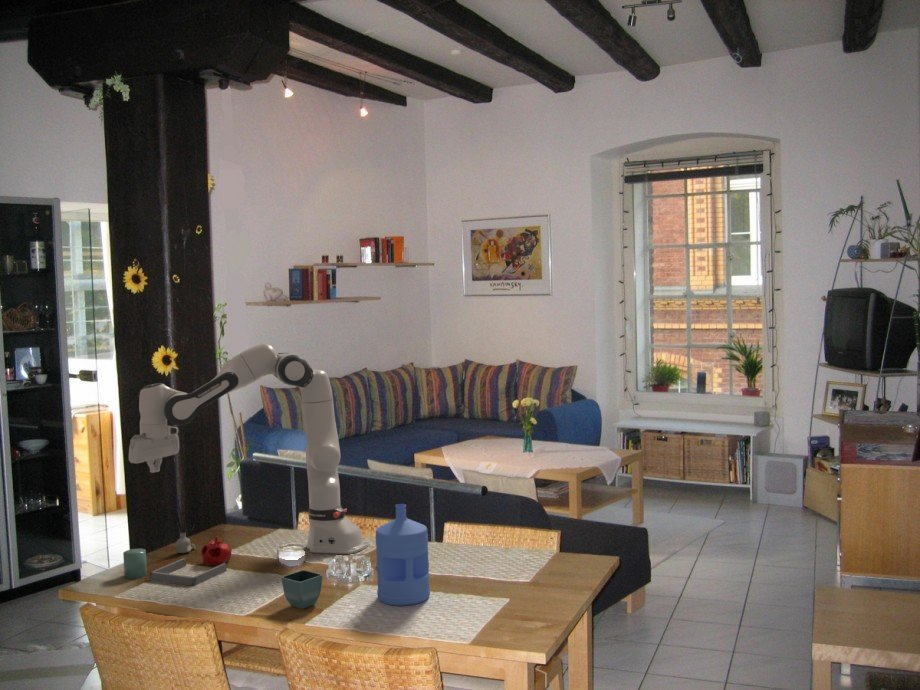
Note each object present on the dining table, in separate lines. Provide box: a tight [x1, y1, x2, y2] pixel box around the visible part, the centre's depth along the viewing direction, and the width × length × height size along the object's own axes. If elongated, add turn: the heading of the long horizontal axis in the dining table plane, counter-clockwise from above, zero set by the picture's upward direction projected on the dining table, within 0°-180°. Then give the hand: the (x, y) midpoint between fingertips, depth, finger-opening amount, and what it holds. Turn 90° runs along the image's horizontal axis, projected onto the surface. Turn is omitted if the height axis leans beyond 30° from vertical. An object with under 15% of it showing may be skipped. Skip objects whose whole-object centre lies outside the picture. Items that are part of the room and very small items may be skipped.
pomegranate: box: [200, 535, 232, 567], centre depth 311 cm, size 10×10×9 cm
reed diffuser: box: [171, 496, 197, 554], centre depth 324 cm, size 10×7×20 cm
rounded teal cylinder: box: [122, 548, 148, 580], centre depth 300 cm, size 7×7×8 cm
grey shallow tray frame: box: [149, 557, 228, 587], centre depth 299 cm, size 18×16×2 cm
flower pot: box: [281, 569, 323, 610], centre depth 267 cm, size 9×9×9 cm
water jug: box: [375, 503, 431, 607], centre depth 271 cm, size 16×16×28 cm
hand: (154, 471), depth 308 cm, fingers closed
